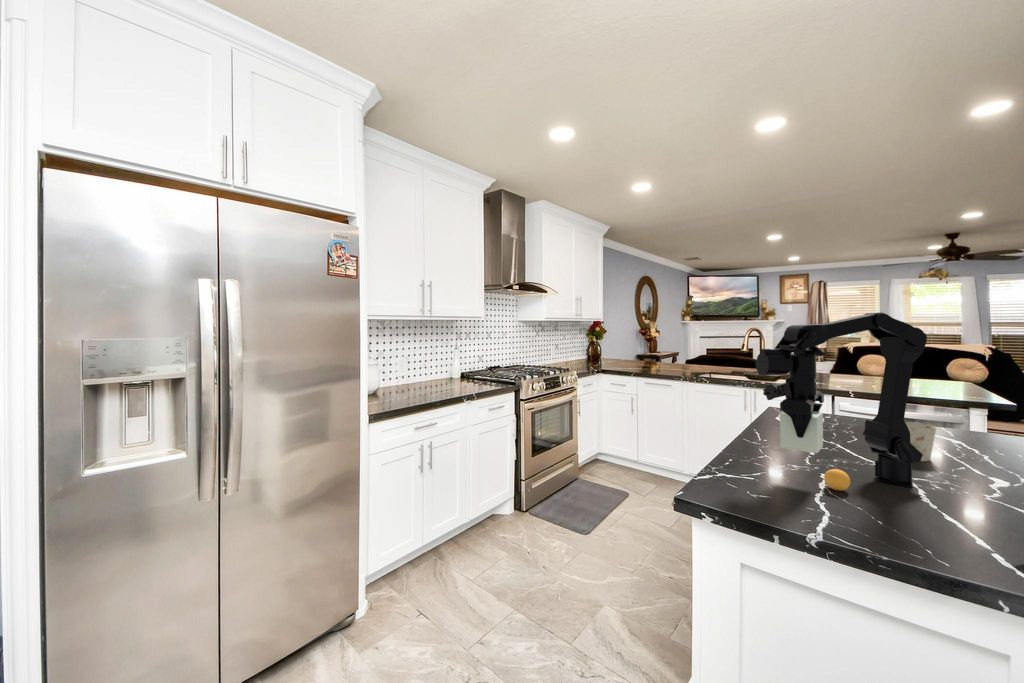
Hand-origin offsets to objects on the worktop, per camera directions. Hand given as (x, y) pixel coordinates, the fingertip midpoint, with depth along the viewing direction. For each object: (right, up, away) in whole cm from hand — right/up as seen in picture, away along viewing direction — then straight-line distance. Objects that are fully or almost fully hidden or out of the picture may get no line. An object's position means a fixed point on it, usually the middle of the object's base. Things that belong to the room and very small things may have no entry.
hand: (803, 434), depth 103 cm
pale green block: (0, -3, 0) cm, 3 cm away
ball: (+5, -10, -5) cm, 12 cm away
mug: (+43, -11, +17) cm, 47 cm away
